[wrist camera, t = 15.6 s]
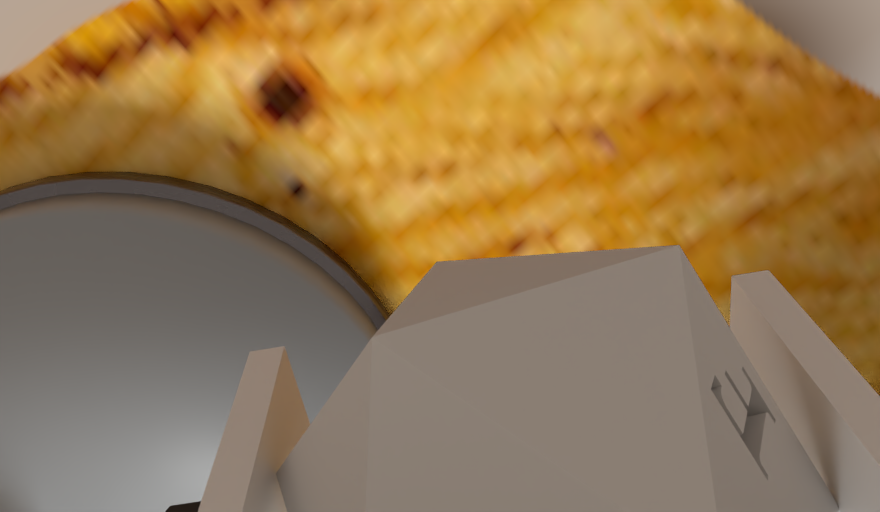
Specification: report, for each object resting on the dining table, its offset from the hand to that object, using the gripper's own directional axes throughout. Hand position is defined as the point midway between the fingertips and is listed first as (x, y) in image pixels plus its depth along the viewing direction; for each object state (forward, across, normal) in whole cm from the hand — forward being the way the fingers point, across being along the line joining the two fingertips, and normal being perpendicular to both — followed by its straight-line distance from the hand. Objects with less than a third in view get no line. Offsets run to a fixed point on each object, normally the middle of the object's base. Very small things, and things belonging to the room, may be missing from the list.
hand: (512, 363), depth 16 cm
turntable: (+16, +18, +13) cm, 28 cm away
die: (0, 0, 0) cm, 0 cm away
